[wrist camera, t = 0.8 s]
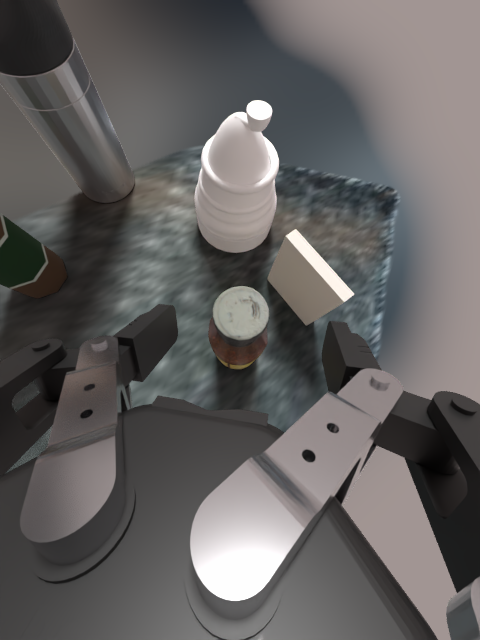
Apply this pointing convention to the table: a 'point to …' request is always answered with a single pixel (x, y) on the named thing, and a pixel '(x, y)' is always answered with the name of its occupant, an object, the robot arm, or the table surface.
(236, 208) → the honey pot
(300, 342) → the table surface
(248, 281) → the table surface
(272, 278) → the tile
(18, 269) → the beer bottle
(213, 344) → the sauce bottle
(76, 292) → the table surface
